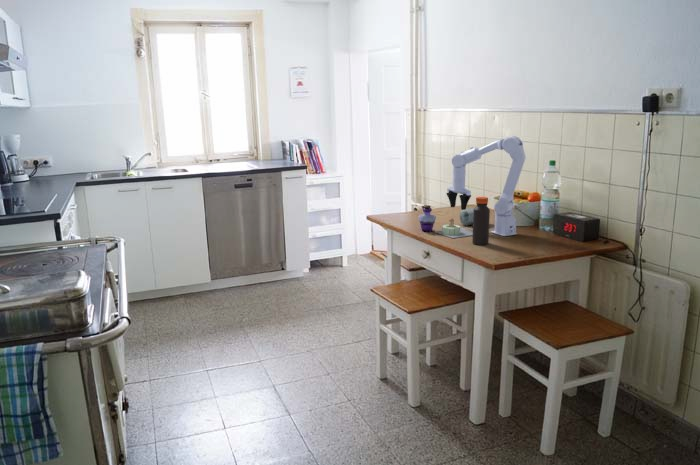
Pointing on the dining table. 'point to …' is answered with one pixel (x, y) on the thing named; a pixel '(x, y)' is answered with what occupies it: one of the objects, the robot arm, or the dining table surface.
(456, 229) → the bead
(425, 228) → the potion bottle
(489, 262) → the dining table surface
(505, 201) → the robot arm
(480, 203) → the vinegar
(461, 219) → the yarn skein
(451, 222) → the wooden dowel
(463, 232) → the mat
